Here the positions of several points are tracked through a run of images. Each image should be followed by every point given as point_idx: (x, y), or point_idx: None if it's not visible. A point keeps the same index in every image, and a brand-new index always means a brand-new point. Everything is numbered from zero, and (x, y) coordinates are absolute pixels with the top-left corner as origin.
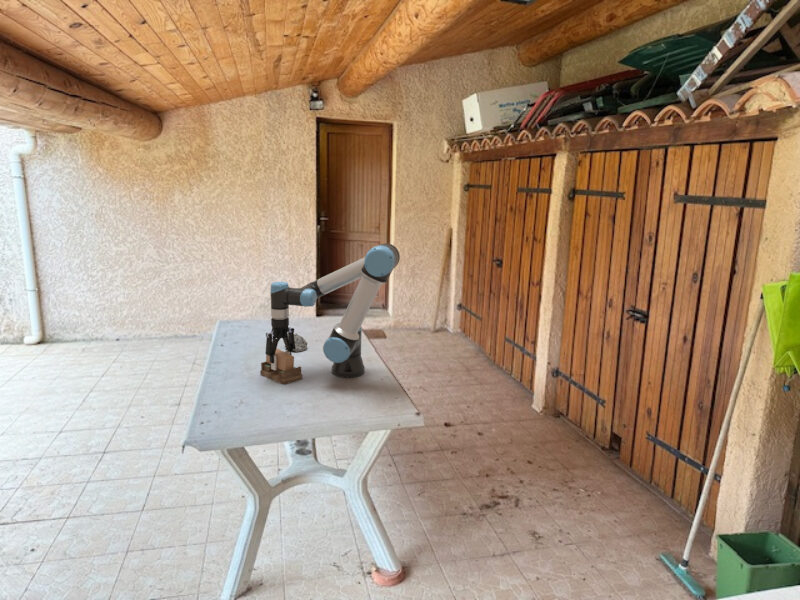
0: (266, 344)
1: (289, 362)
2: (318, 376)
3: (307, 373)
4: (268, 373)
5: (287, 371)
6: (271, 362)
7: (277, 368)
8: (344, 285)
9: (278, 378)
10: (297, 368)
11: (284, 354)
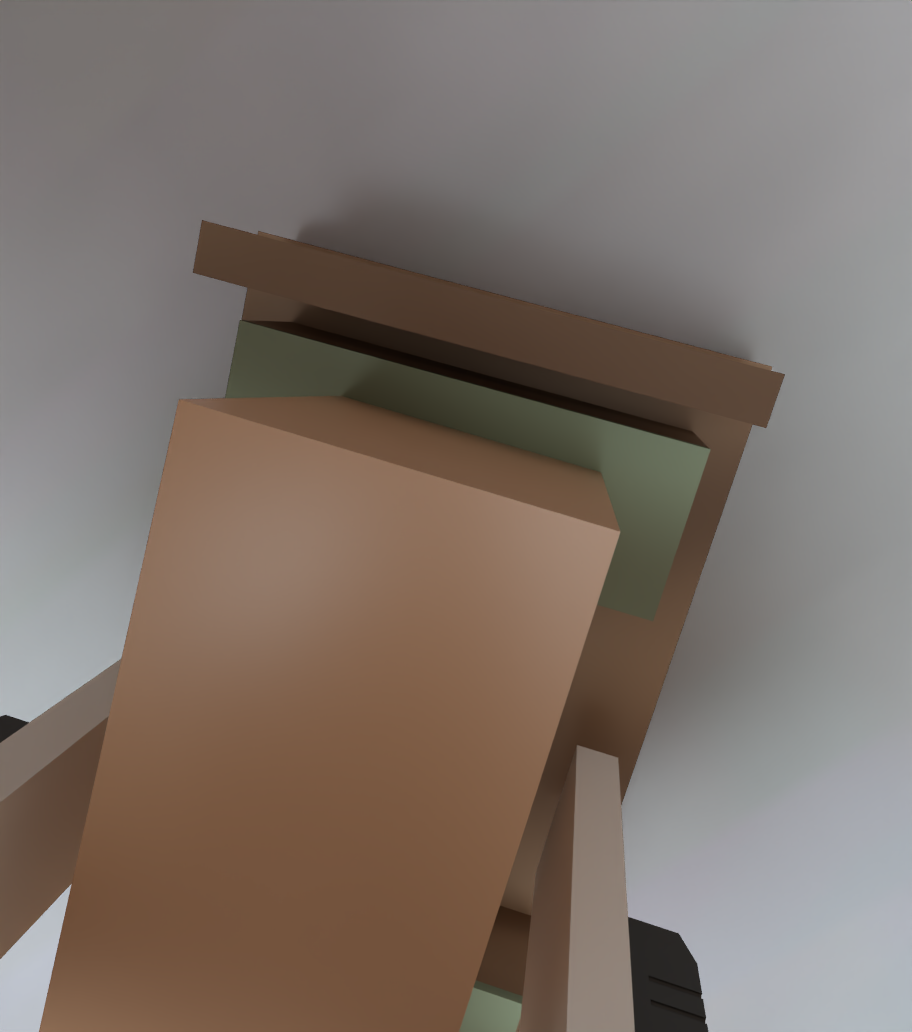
0: None
1: (443, 450)
2: (28, 19)
3: (32, 326)
4: None
5: (679, 347)
6: (686, 973)
7: None
8: None
9: (702, 558)
10: (330, 255)
11: (247, 848)
